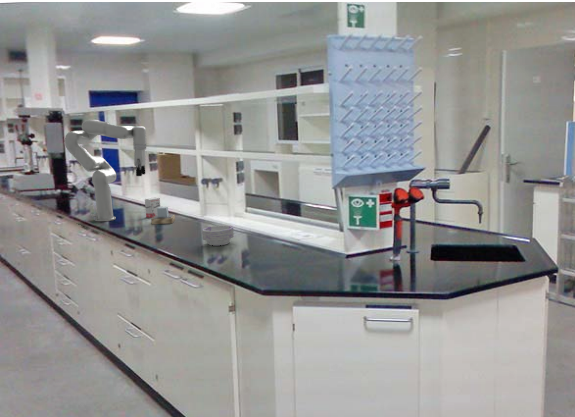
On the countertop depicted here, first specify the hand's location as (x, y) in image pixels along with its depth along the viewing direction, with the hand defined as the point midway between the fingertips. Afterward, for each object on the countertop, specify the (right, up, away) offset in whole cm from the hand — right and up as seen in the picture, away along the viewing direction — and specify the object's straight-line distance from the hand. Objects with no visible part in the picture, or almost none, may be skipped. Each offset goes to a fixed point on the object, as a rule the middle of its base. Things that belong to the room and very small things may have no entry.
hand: (140, 175), depth 341 cm
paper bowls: (+56, -38, -68) cm, 96 cm away
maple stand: (+15, -28, -4) cm, 32 cm away
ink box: (+4, -26, +16) cm, 31 cm away
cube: (+15, -25, -4) cm, 29 cm away
